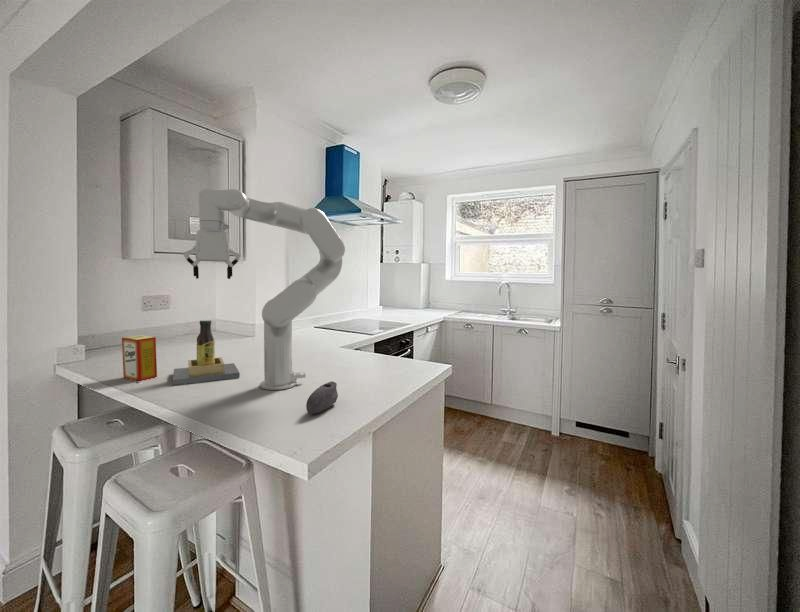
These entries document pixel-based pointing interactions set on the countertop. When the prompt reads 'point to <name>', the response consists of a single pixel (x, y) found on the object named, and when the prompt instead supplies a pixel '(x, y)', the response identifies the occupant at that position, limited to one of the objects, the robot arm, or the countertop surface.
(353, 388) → the countertop surface
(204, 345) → the sauce bottle
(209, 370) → the wooden tray on slab
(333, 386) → the perforated stone tool
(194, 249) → the robot arm
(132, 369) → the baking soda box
